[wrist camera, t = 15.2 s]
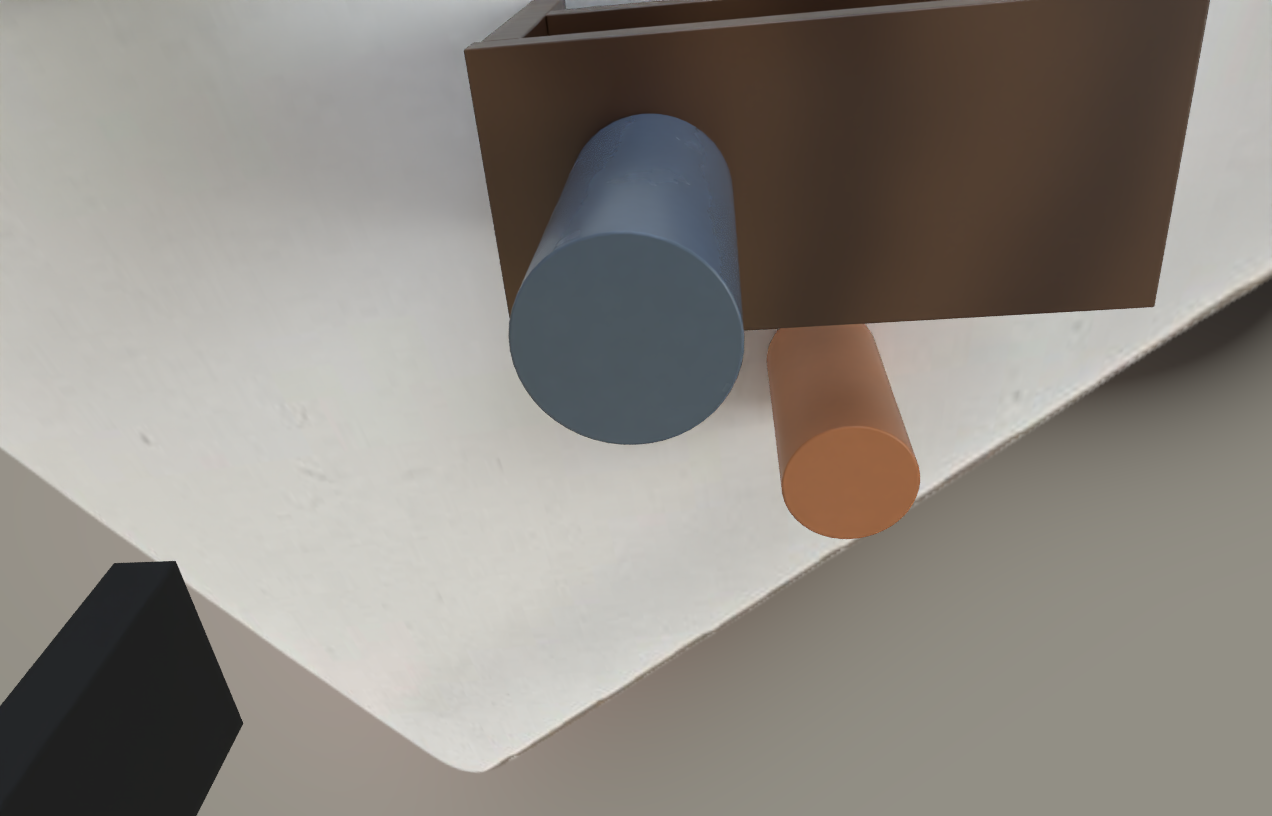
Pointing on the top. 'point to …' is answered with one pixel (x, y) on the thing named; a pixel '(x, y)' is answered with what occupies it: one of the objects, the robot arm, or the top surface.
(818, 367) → the copper tin
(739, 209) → the desk shelf
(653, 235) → the slate tin
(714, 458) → the top surface
